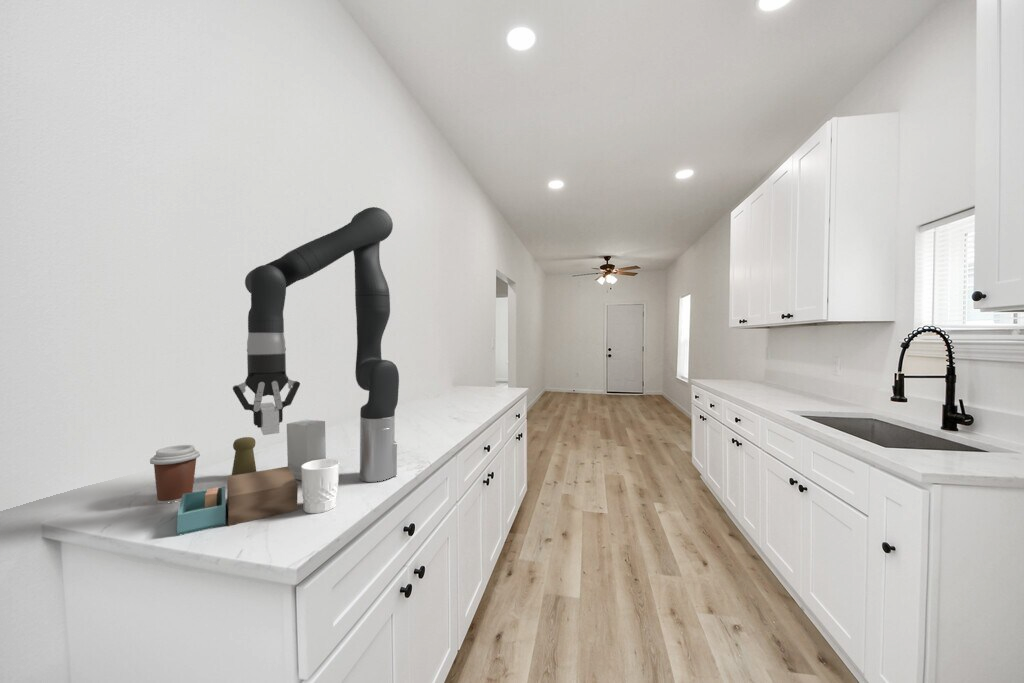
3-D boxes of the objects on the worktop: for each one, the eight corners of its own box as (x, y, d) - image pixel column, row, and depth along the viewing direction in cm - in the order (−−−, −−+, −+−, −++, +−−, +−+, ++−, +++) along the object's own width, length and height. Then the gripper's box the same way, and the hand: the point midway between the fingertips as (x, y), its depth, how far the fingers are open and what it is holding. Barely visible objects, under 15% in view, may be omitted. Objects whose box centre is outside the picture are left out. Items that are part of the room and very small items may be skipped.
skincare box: (326, 475, 109) (327, 420, 109) (306, 482, 103) (306, 425, 103) (306, 471, 112) (307, 418, 112) (285, 478, 106) (285, 422, 106)
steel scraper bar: (272, 422, 95) (272, 402, 95) (279, 433, 84) (278, 410, 84) (258, 423, 94) (258, 403, 94) (263, 435, 83) (262, 412, 82)
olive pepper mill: (243, 481, 103) (243, 441, 103) (225, 479, 105) (225, 439, 105) (262, 474, 109) (262, 435, 109) (244, 472, 110) (245, 434, 111)
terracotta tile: (218, 487, 87) (207, 489, 86) (216, 493, 84) (205, 495, 83) (218, 504, 87) (207, 506, 86) (216, 511, 84) (204, 513, 83)
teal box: (224, 503, 89) (224, 486, 89) (225, 524, 79) (225, 505, 79) (182, 512, 85) (182, 494, 85) (177, 535, 74) (177, 515, 74)
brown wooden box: (287, 489, 98) (288, 466, 98) (297, 510, 86) (297, 483, 86) (227, 501, 90) (227, 476, 90) (228, 525, 78) (228, 496, 78)
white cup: (292, 511, 85) (293, 466, 85) (321, 498, 93) (322, 457, 93) (318, 517, 82) (319, 471, 82) (346, 503, 90) (347, 461, 90)
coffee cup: (179, 489, 97) (180, 442, 98) (208, 492, 96) (209, 444, 96) (138, 504, 88) (139, 452, 89) (169, 507, 87) (170, 455, 87)
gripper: (298, 351, 96) (299, 419, 96) (229, 352, 88) (230, 427, 88) (303, 351, 90) (304, 424, 90) (229, 353, 82) (231, 434, 82)
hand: (268, 425), depth 89 cm, fingers closed on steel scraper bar, 3 cm apart
